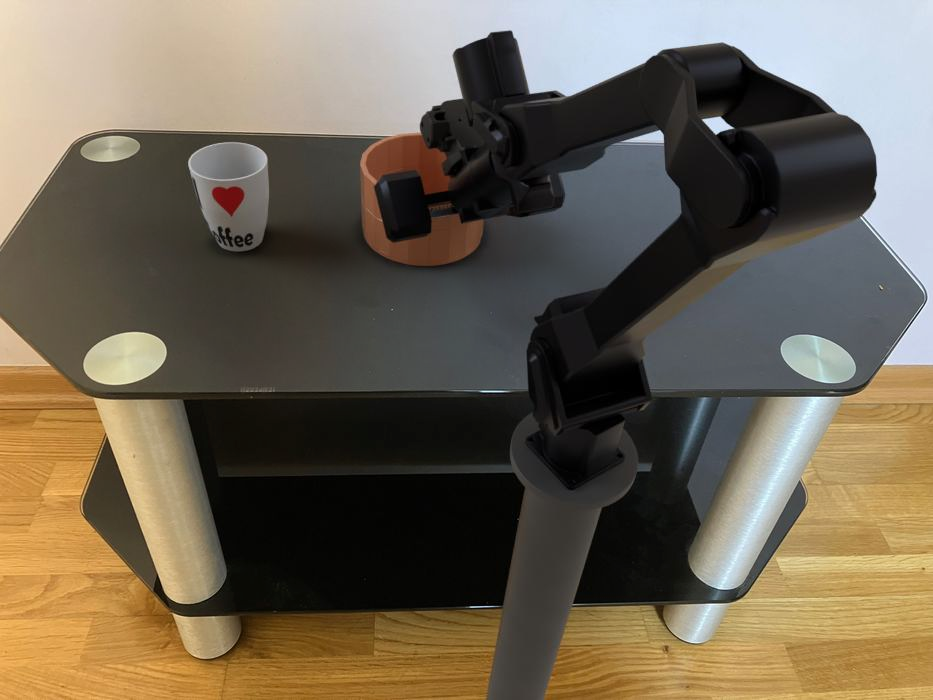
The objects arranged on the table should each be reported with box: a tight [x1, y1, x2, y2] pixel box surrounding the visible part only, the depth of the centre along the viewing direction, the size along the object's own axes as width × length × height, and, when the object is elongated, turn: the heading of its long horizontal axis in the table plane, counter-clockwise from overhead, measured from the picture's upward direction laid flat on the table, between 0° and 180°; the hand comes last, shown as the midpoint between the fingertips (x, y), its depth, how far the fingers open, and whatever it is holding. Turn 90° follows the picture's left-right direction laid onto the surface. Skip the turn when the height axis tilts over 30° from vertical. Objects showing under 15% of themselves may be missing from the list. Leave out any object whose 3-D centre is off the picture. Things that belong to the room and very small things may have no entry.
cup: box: [187, 141, 270, 252], centre depth 86 cm, size 8×8×10 cm
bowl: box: [359, 132, 485, 267], centre depth 90 cm, size 14×14×9 cm
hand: (446, 213), depth 85 cm, fingers open, 9 cm apart
